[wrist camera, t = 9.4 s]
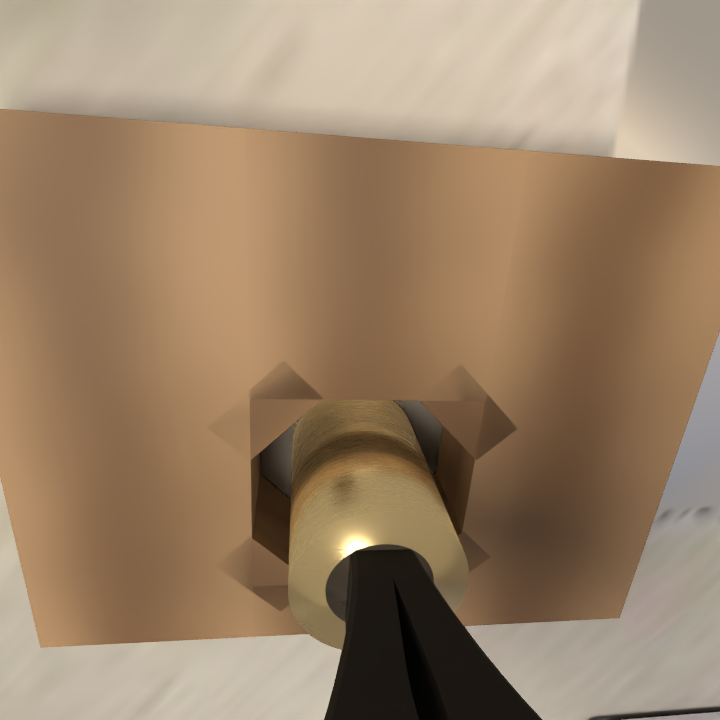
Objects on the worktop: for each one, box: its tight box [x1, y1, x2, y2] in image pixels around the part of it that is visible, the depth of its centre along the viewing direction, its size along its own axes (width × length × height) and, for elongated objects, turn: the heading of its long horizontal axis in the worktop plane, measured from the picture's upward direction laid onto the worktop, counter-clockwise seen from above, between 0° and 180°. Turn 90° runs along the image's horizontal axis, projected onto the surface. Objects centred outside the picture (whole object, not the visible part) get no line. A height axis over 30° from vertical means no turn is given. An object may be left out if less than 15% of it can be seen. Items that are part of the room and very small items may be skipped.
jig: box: [0, 109, 720, 647], centre depth 14 cm, size 18×14×3 cm
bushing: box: [288, 400, 469, 650], centre depth 14 cm, size 4×4×6 cm
